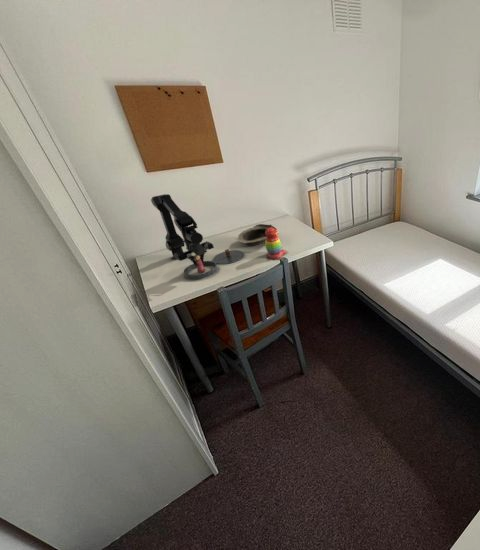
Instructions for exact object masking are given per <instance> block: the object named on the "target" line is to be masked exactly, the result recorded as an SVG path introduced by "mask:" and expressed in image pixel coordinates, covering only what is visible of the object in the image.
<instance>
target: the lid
mask: <svg viewBox="0 0 480 550" xmlns="http://www.w3.org/2000/svg"><path fill="white" fill-rule="evenodd" d="M244 257H245V253H244V252H243V251H242V250H236V249H232V250H230V249H229V248H227V249H224V251H223V252H220V253H218V254H216V255H215V256H214V257H213V259H212V261H213V262H216V264H217V265H229V264H235V263H236V262H240V261H241V260H242V259H243V258H244Z"/></svg>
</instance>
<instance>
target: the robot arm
mask: <svg viewBox="0 0 480 550" xmlns="http://www.w3.org/2000/svg"><path fill="white" fill-rule="evenodd" d="M150 202H151V204H152V205H153V207H155V208H156V209H157V210H158V211H159V214H160V217H161V219H162V223H163V225H164V228H165V231H166V235H165V248H166V250H168V251H169V252H171V254H172V257H171V260H178V261H180V262H181V261H183V260H190V262H191V263H192V264H195V265H196V266H197V263H196V261H195V259H194V255H197V256H200V259H201V261H202V263H203V261H205V260H204V258H205V254H206V253H208V250H212V249H214V244H213V243H212V242H209V241H204V242H203V240H204V236H203V235H202V234H201V233H200V232H198V231H197V230H196V229H198V223H197V222H196V221H195V219H194V217H192V216H191V215H190V214H189V213H187V212H186V211H184V210H181V208H180V207H179V206H178V205H177V204H176V202H175V201H174V200H173V198H172V196H171V194H169V193H164V194H160V195H154V196H152V197H151V199H150ZM172 216H173V218H172ZM175 226H176V227H175ZM176 228H177V229H178V230H179V232H180V233H181V235H180V234H178V232H177V231H176ZM185 246H186V247H185ZM183 247H185V249H186V250H187V251H184V250H183ZM193 254H194V255H193Z"/></svg>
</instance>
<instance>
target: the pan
mask: <svg viewBox="0 0 480 550" xmlns="http://www.w3.org/2000/svg"><path fill="white" fill-rule="evenodd" d="M203 266H213V268H212V269H210V270H208V271H207V272H206V271H205V272H202V273H198V274H189V272H191V271H192V270H194V269H196V268H197V266H196V265H195V264H194V263H192V264H190V265H187V266H186V267H185V268H184V270H183V274H184V276H185V278H186V279H188V280H192V281H193V280H195V281H197V280H202V279H207V278H209V277H211V276H213V275H215V274H216V273H217V272H218V270H219V266H218V264H217V263H216V262H214V261H213V260H203Z"/></svg>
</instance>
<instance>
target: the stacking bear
mask: <svg viewBox="0 0 480 550" xmlns="http://www.w3.org/2000/svg"><path fill="white" fill-rule="evenodd" d="M276 229H277V228H276ZM276 229H274V228H272V227H270V228H268V229H267V230H266V231H265V234H266V236H267V238H266V241H265V244H264V245H265V249H266V251H267V257H268V258H270V259H273V260H280V259H282V256H284V255H285V254H286V253H287V251H286V249H282V242H281V240H280V238H279V231H278V230H276Z"/></svg>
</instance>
